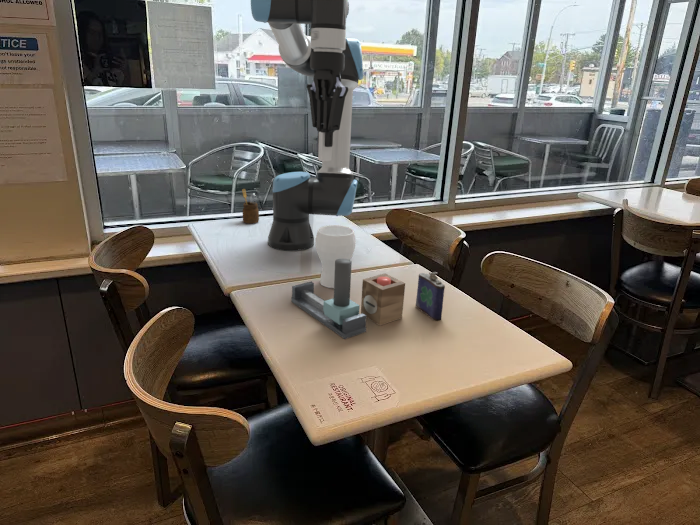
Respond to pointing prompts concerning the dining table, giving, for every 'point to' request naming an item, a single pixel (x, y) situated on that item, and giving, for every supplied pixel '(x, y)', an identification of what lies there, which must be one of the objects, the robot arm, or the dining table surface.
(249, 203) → the utensil holder
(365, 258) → the dining table surface
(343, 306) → the carriage
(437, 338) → the dining table surface
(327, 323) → the rail track
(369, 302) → the open wooden box
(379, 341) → the dining table surface
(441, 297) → the flask
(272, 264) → the dining table surface
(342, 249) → the cup
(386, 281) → the button
